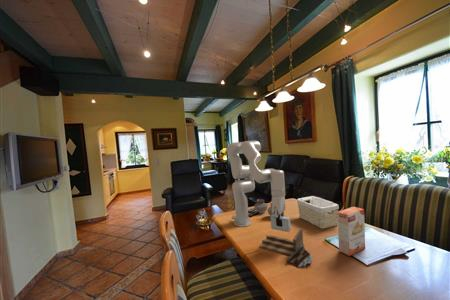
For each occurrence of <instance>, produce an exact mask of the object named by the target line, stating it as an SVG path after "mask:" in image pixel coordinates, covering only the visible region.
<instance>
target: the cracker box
mask: <svg viewBox="0 0 450 300" xmlns="http://www.w3.org/2000/svg"><path fill="white" fill-rule="evenodd" d="M365 225H366V224H365V209H364V208H361V207H356V206H351V207H348V208H345V209H342V210H338V225H337V230H338V231H337V232H338V233H337V234H338V236H337V238H338V251H339V252H340V253H342V254H345V255H346V256H349V257H351V256H353V255H354V253H355V254H357V253H358V251H359V252H361V251H362V250H364V249H366V231H365V230H366V228H365V227H366V226H365ZM356 252H357V253H356ZM352 254H353V255H352Z"/></svg>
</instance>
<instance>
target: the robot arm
mask: <svg viewBox="0 0 450 300" xmlns="http://www.w3.org/2000/svg"><path fill="white" fill-rule="evenodd" d="M261 150H262V146H261V143H260V142H259V141H257V140H246V141H236V142H231V143H229V144H228V145H227V148H226V154H227V157H228V160H229V162H230V168H231V169H230V170H231V174H232V177H233V179H235V180H236V181H234V182H233V183H232V185H231V189H232V194H233V199H234V211H235V214H234V215H232V216H231V220H233V224H234V226H237V227H240V228H241V227H248V226H250V225H251V223H252V222H251V220H250V219H249V206H248V205H249V203H248V202H249V201H248V197H247V195H245V194H246V193H252V192H253V191H255V188H256V185H255V184H256V183H255V182H257V183H258V184H264V183H270V189H271V195H270V196H271V202H272V214H274V213H275V215H274V217H276V226H280V227H282V219H281V216H284V217H285V211H286V206H287V205H286V198H285V196H286V183H285V181H286V180H285V172H284V170H280V169H275V168H265V169H259V168H258V166H257V164H258V163H259V162H260V161H261V159H262V155H261V153H260V151H261ZM239 154H240V155H241V154H243V156H245V158H246V159H247V160H248V162H249V163H248V164H244V165H243V162H242V161H243V160H242V158H241V157H240V156H239ZM241 179H242V180H241Z"/></svg>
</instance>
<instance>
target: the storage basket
mask: <svg viewBox="0 0 450 300" xmlns="http://www.w3.org/2000/svg"><path fill="white" fill-rule="evenodd" d="M296 203H297V207H298V214H299V217H300V218H301V219H302V220H304V221H306V222H308V223H310V224H311V225H313V226H315V227H317V228H319V229H322V230H323V229H328V228H330V227H335V226H338V212H339V209H340V207H339V204H337V203H334V202H333V201H330V200H327V199H324V198H321V197H318V196H314V195H311V196H305V197H301V198H297V199H296Z"/></svg>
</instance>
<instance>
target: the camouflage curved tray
mask: <svg viewBox="0 0 450 300" xmlns="http://www.w3.org/2000/svg"><path fill="white" fill-rule="evenodd" d="M286 262H287V263H291V264H292V265H293V266H295V267H296V268H300V267H302V266H303V267H305V268H306V267H307V265H309V264H310V265H312V262H313V255H312V254H311V253H310V252H309V251H307V250H306V249H305V245H304V243H303V244H302V245H301V246H300V247H299V248H298V249H297V250H296V251H295V252H294V253H293V254H292V255H291V256H289V255H288V257H287V259H286Z"/></svg>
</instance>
